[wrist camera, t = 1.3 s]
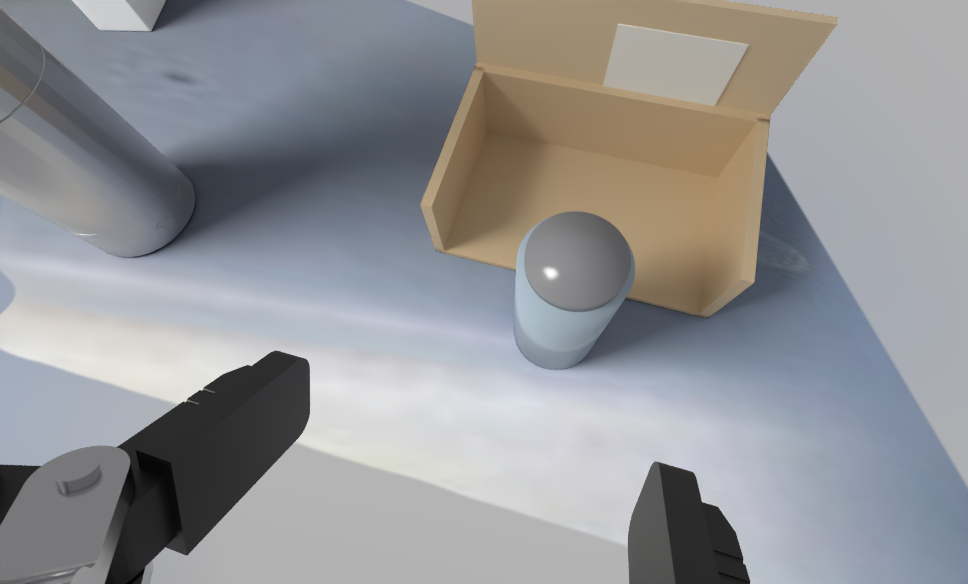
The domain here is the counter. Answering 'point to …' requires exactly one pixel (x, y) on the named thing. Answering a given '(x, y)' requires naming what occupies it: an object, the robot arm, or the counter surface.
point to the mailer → (622, 134)
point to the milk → (122, 13)
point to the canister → (569, 286)
